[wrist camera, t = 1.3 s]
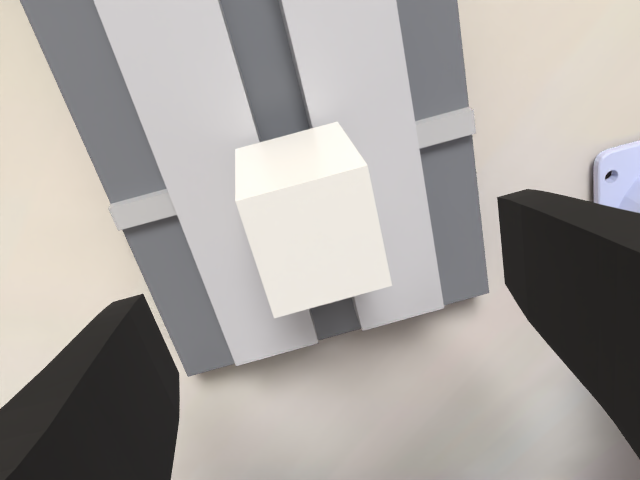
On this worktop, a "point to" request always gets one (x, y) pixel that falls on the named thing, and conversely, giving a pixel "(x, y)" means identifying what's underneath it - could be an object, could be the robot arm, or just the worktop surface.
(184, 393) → the worktop surface
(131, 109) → the fader console
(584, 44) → the worktop surface
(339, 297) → the fader knob
